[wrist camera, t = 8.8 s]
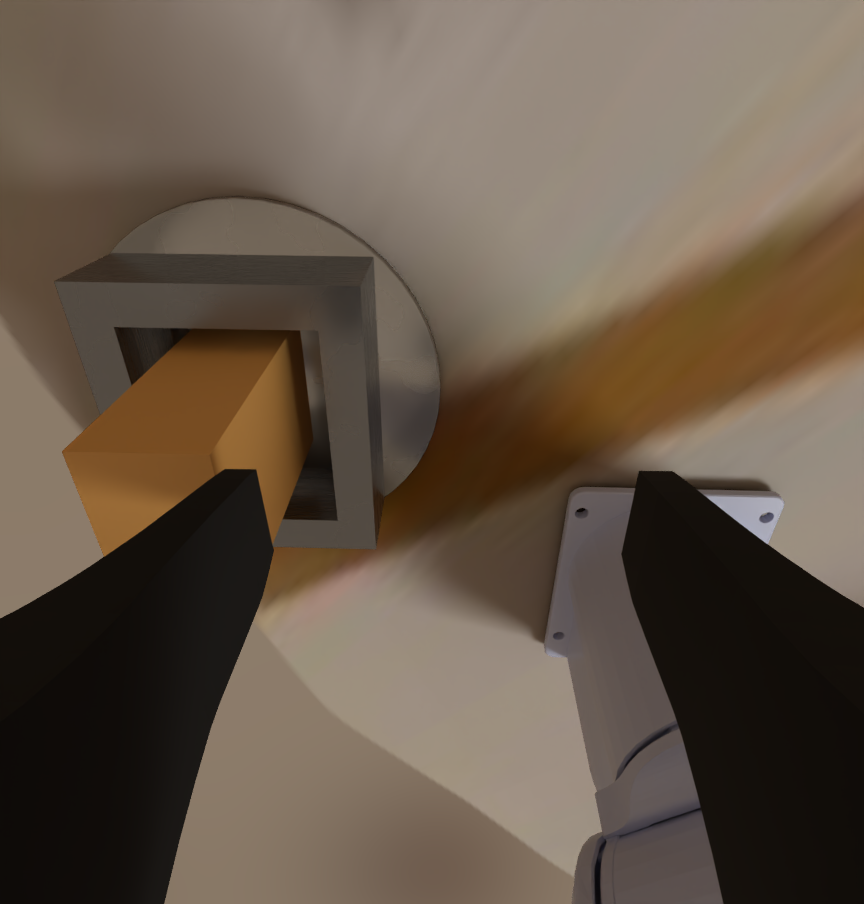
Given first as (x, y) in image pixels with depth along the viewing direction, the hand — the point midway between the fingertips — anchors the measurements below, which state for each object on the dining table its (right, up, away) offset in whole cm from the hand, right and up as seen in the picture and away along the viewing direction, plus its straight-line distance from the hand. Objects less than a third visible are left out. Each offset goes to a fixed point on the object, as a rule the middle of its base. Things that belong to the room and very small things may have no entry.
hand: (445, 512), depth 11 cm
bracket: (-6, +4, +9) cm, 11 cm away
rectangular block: (-6, +4, +8) cm, 11 cm away
